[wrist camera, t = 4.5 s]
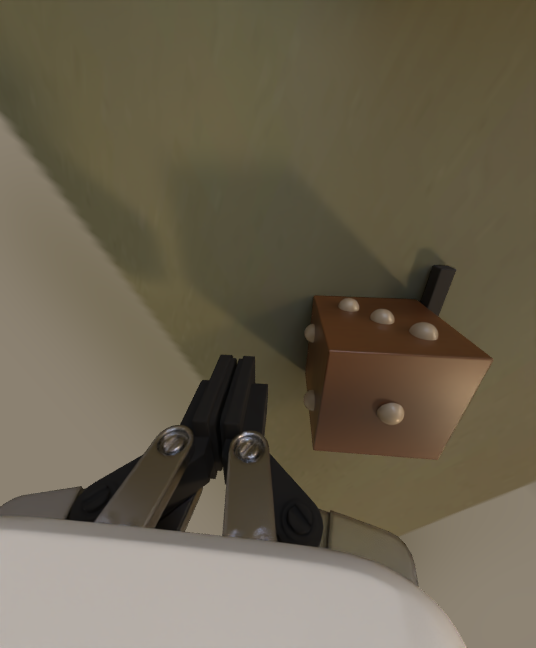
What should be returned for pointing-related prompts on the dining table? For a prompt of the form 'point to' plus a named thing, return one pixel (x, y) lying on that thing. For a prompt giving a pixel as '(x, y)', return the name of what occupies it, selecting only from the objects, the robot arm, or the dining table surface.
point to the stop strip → (437, 287)
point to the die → (386, 377)
